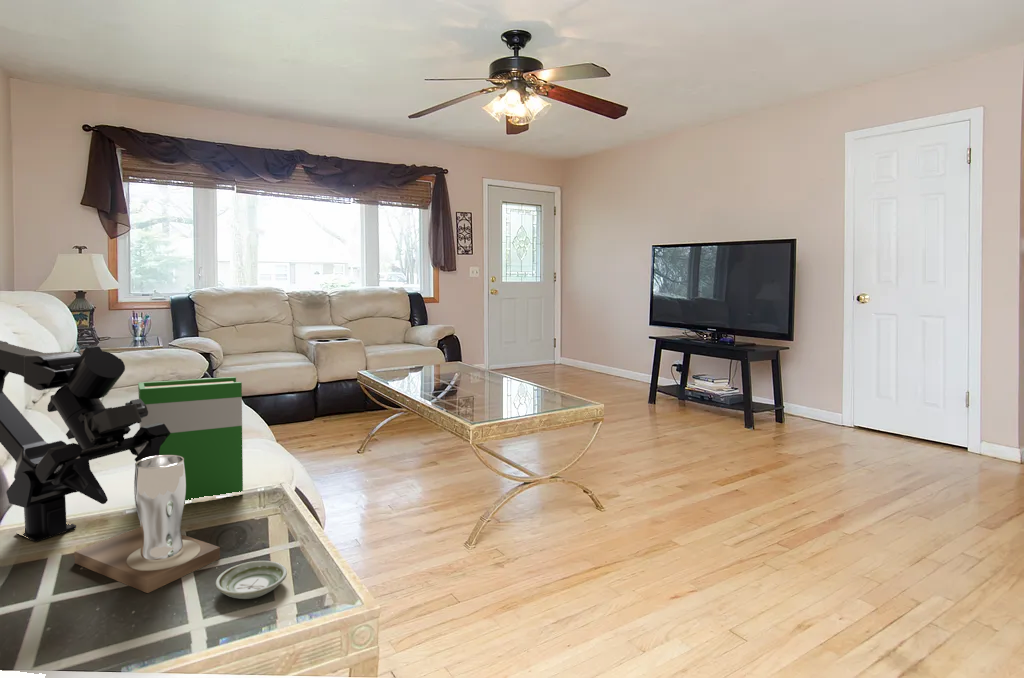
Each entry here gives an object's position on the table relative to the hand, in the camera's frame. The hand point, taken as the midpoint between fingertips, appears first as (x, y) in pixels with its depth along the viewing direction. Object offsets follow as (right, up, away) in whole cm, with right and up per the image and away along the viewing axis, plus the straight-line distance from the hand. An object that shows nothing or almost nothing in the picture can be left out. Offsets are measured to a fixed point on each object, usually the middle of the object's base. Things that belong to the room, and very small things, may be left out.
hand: (134, 492), depth 94 cm
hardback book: (-5, -8, +27) cm, 29 cm away
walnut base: (+2, -11, +1) cm, 11 cm away
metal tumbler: (+5, -9, -1) cm, 11 cm away
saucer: (+22, -13, -7) cm, 26 cm away
